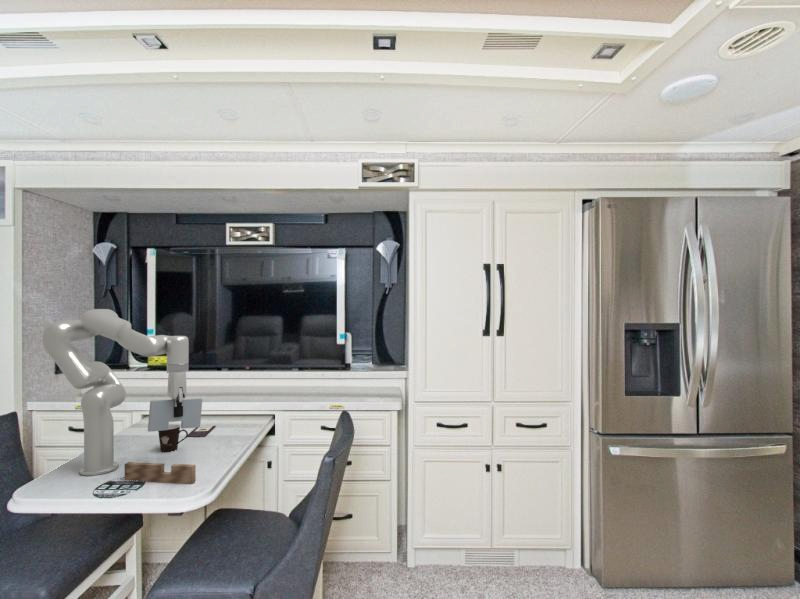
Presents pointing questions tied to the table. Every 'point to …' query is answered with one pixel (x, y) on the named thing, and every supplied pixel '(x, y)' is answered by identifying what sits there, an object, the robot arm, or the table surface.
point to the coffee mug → (170, 438)
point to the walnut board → (160, 473)
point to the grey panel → (164, 414)
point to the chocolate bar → (201, 431)
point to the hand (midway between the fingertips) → (177, 415)
